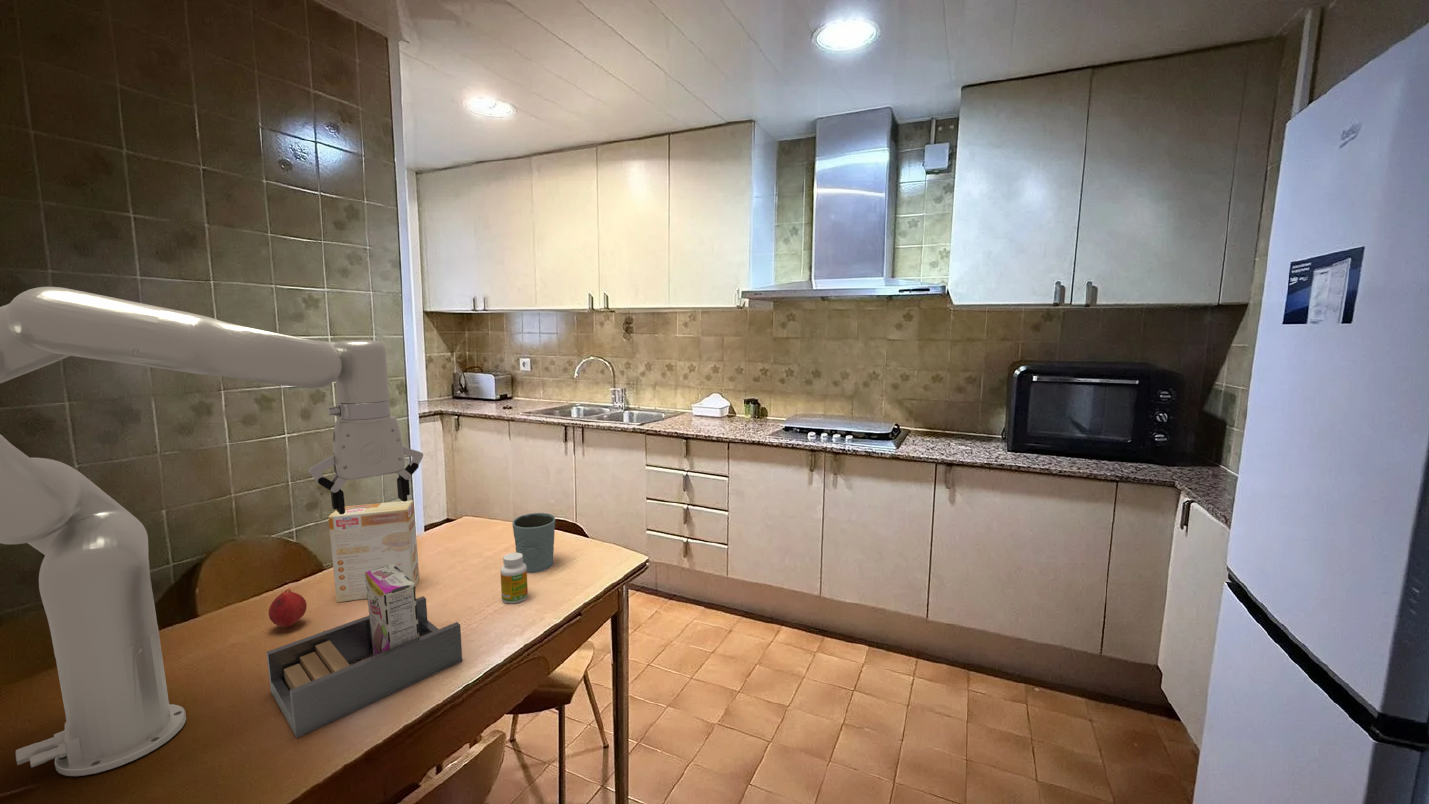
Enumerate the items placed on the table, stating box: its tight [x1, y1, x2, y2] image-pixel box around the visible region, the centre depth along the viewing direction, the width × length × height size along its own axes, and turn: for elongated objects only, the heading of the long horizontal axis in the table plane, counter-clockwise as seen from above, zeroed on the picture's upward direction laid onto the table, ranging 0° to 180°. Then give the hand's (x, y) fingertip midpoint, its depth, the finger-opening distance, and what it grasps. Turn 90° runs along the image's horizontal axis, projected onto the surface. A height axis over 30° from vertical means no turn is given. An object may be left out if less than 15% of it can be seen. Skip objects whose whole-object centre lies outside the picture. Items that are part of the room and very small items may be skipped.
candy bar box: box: [365, 564, 420, 656], centre depth 94 cm, size 11×5×16 cm, turn 47°
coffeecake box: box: [328, 500, 420, 603], centre depth 120 cm, size 15×7×20 cm, turn 108°
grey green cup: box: [511, 512, 556, 574], centre depth 134 cm, size 10×10×12 cm
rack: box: [266, 595, 463, 739], centre depth 91 cm, size 24×15×7 cm, turn 140°
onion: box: [268, 587, 308, 628], centre depth 106 cm, size 6×6×8 cm
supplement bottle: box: [500, 552, 529, 605], centre depth 118 cm, size 5×5×10 cm
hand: (372, 505), depth 96 cm, fingers open, 9 cm apart
